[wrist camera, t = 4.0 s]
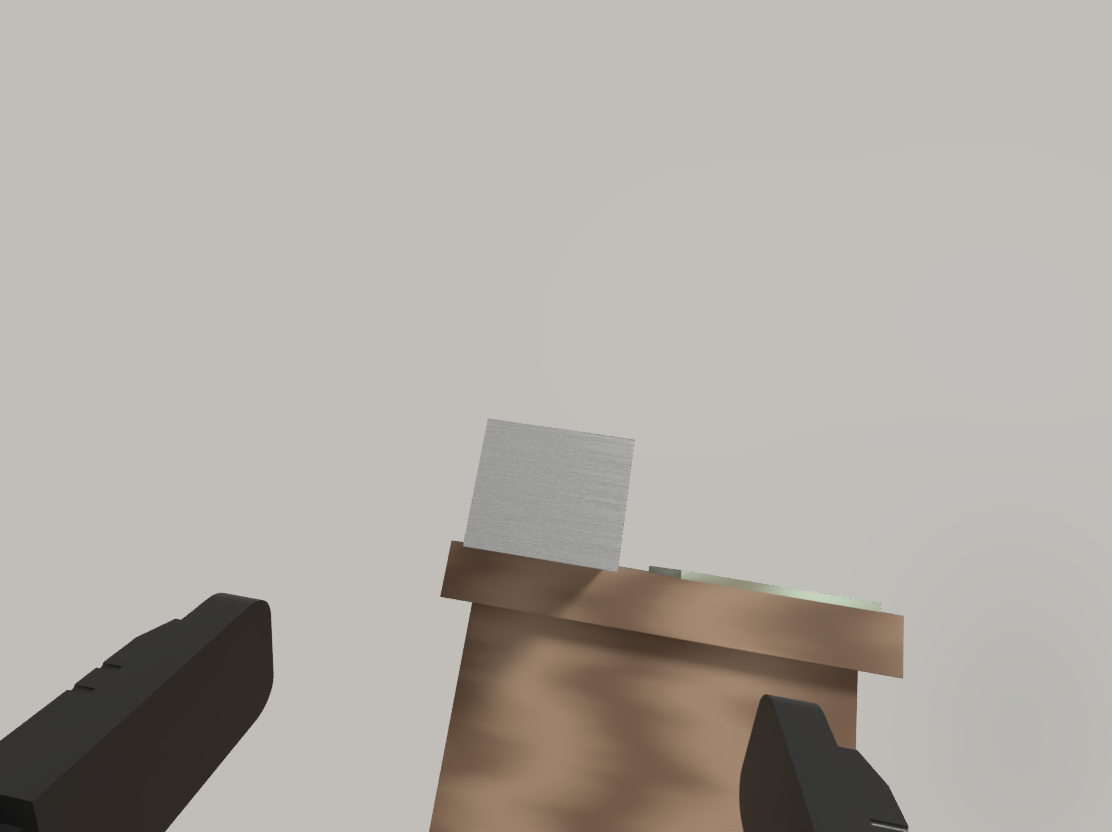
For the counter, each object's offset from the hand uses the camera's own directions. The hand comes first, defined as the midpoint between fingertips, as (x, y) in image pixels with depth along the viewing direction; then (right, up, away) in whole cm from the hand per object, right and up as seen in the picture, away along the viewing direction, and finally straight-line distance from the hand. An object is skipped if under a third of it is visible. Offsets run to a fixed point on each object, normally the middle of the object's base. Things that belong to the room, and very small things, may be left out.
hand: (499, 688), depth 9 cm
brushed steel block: (+1, -1, +13) cm, 13 cm away
